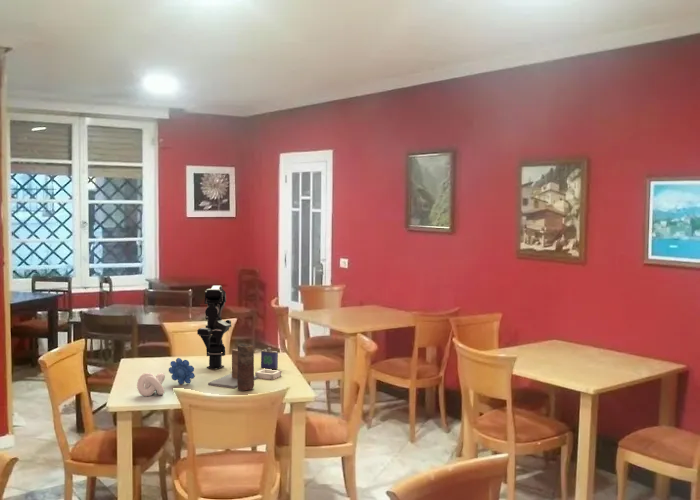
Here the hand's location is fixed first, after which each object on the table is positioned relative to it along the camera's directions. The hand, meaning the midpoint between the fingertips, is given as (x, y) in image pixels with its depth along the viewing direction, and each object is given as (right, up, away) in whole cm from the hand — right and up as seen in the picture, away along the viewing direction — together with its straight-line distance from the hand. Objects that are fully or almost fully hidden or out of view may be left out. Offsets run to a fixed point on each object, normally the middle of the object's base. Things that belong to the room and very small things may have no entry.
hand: (213, 346), depth 336 cm
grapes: (-10, -14, -21) cm, 27 cm away
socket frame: (+27, -14, -4) cm, 30 cm away
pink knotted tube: (-18, -15, -37) cm, 44 cm away
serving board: (+12, -14, -14) cm, 23 cm away
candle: (+20, -15, -27) cm, 37 cm away
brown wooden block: (+14, -13, -10) cm, 21 cm away
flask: (+25, -13, +13) cm, 31 cm away
